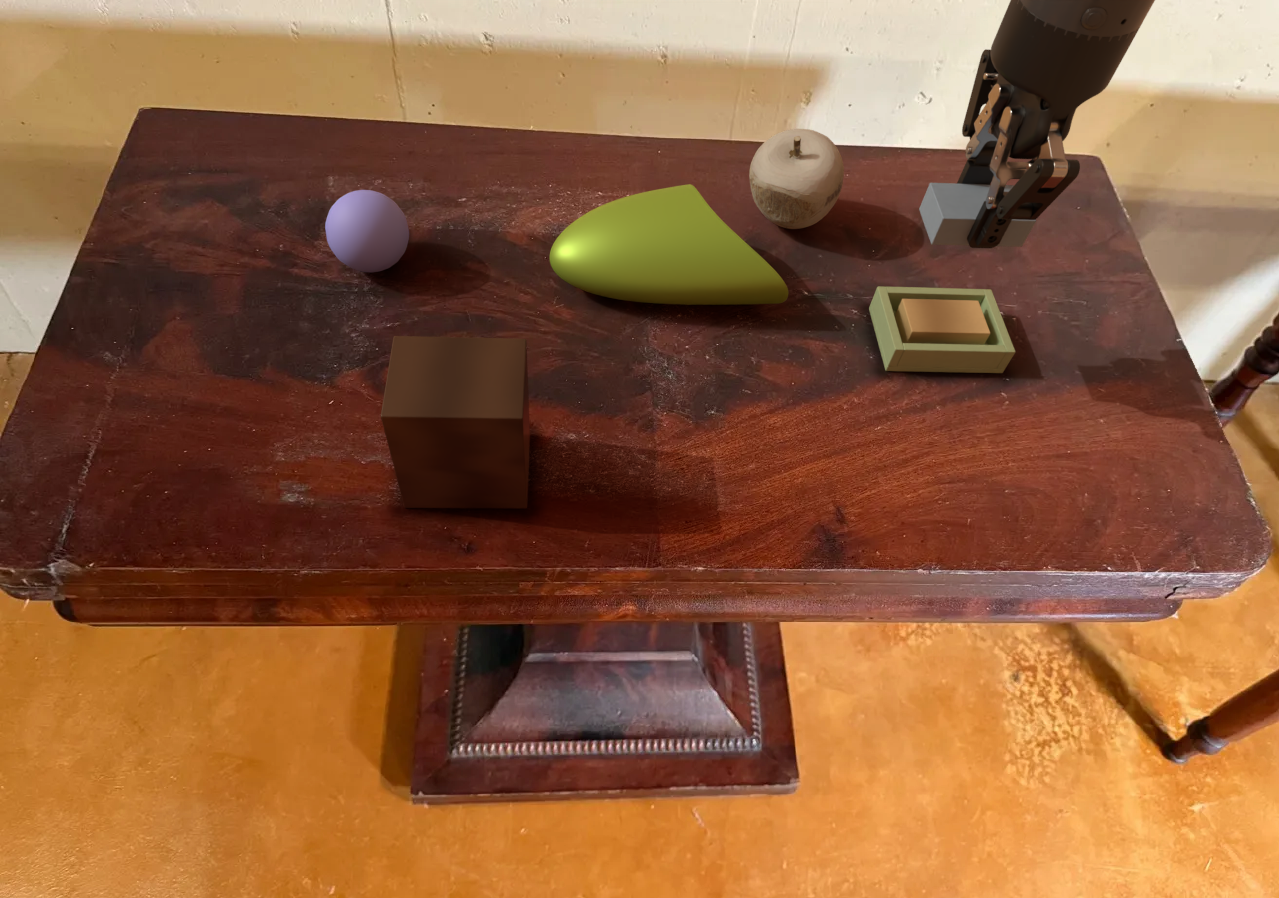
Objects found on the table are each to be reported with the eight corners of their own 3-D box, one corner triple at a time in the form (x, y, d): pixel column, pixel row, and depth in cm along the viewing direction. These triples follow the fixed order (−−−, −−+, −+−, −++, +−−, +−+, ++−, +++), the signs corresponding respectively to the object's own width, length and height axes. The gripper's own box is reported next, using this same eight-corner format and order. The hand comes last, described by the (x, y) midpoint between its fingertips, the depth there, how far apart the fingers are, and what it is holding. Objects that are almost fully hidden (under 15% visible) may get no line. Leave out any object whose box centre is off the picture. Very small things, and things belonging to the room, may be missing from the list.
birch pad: (968, 320, 81) (978, 300, 79) (979, 352, 78) (990, 333, 76) (893, 318, 80) (902, 298, 78) (902, 351, 78) (912, 331, 76)
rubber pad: (1006, 211, 68) (1020, 184, 66) (1022, 247, 66) (1036, 220, 64) (918, 209, 68) (929, 182, 66) (931, 245, 65) (943, 218, 63)
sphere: (346, 297, 77) (329, 235, 71) (325, 246, 81) (307, 183, 75) (424, 277, 79) (414, 214, 74) (400, 228, 83) (389, 165, 77)
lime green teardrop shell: (765, 155, 78) (539, 178, 76) (796, 269, 73) (555, 296, 72) (752, 213, 85) (545, 235, 84) (779, 320, 80) (560, 346, 79)
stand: (530, 433, 70) (526, 338, 61) (527, 509, 66) (522, 418, 57) (414, 432, 69) (393, 335, 60) (404, 508, 65) (380, 416, 56)
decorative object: (834, 202, 90) (861, 115, 82) (822, 258, 85) (850, 170, 77) (749, 183, 91) (767, 94, 83) (732, 237, 86) (751, 148, 78)
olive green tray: (979, 311, 82) (991, 289, 80) (1002, 373, 78) (1016, 352, 76) (868, 308, 81) (877, 286, 79) (885, 371, 77) (895, 349, 75)
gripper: (1190, 68, 49) (1049, 292, 63) (1100, -59, 57) (993, 165, 71) (1060, 62, 48) (947, 290, 62) (988, -65, 56) (902, 162, 70)
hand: (972, 222), depth 66 cm, fingers closed on rubber pad, 4 cm apart
